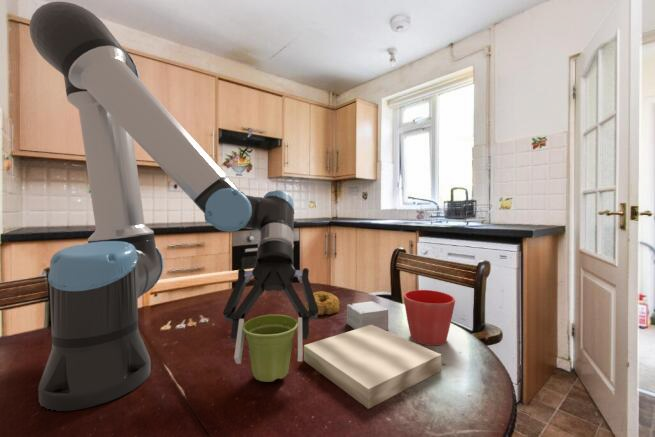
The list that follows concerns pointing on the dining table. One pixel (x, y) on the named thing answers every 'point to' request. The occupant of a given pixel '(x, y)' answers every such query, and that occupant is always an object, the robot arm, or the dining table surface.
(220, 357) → the dining table surface
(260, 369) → the plant pot
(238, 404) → the dining table surface
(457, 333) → the dining table surface
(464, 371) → the dining table surface
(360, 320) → the small box
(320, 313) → the bagel
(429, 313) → the flower pot
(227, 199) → the robot arm
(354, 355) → the plinth
